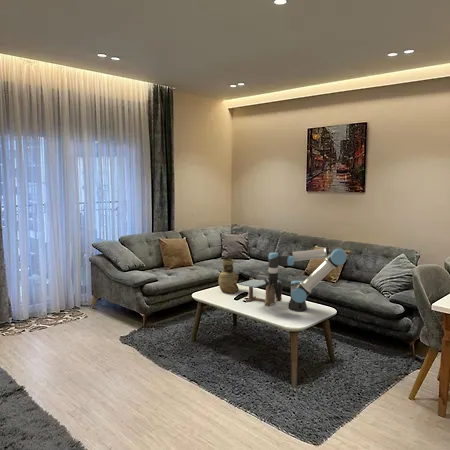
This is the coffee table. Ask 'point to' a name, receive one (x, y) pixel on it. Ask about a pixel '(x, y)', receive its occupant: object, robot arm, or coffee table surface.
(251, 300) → the trapdoor frame
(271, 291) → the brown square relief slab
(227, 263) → the ceramic vessel
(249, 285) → the trapdoor
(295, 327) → the coffee table surface
